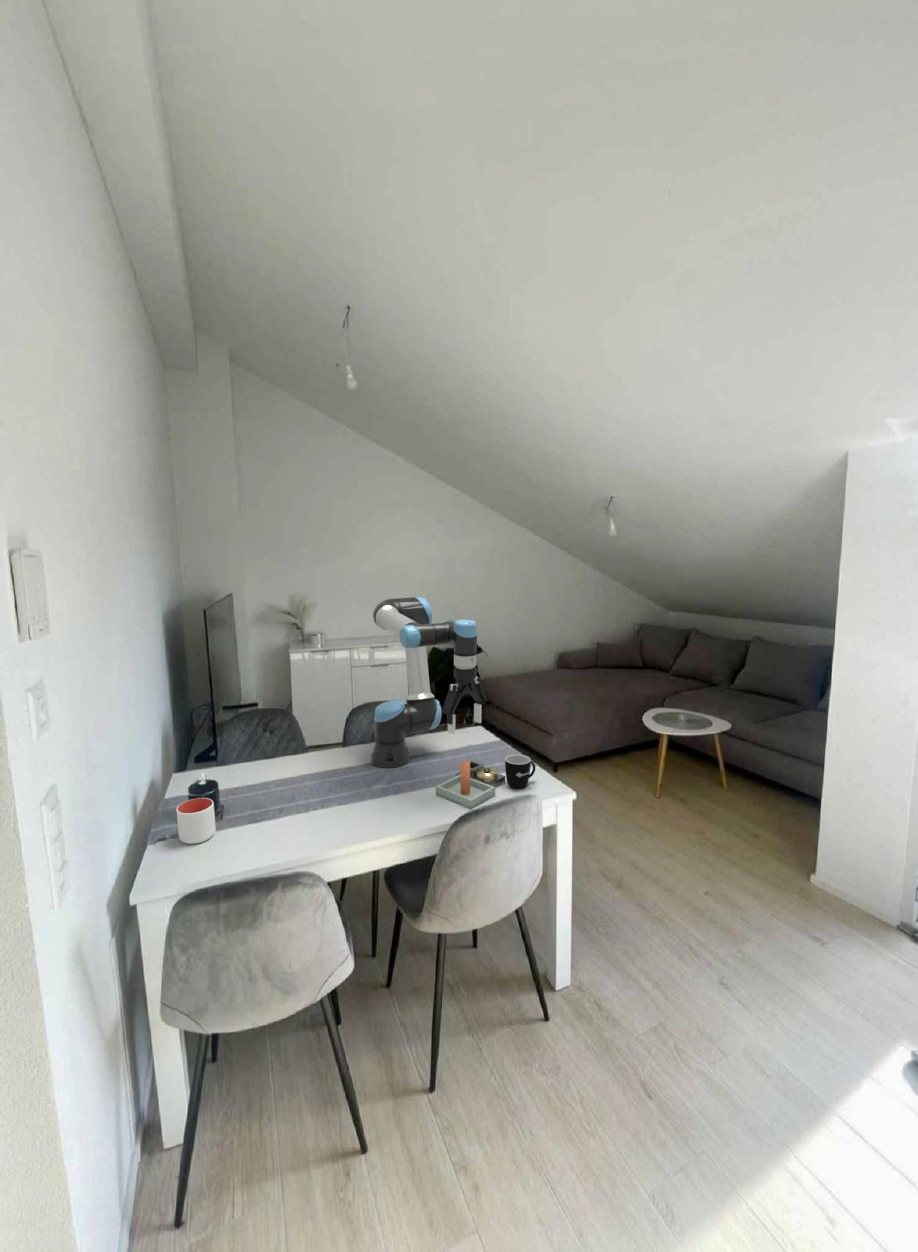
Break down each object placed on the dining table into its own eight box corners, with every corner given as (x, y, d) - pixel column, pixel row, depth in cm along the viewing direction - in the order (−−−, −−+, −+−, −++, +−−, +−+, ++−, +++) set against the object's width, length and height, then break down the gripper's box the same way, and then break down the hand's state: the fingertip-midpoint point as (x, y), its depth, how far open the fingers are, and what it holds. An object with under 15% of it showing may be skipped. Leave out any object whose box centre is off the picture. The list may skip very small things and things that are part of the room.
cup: (187, 828, 171) (184, 798, 170) (220, 827, 172) (218, 797, 171) (173, 846, 162) (170, 814, 160) (209, 845, 162) (206, 813, 161)
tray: (435, 794, 193) (435, 786, 193) (460, 782, 203) (460, 774, 203) (471, 809, 183) (471, 800, 182) (495, 795, 193) (495, 787, 192)
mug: (513, 793, 194) (514, 766, 192) (500, 783, 202) (500, 757, 200) (542, 786, 199) (542, 759, 198) (527, 777, 207) (528, 751, 206)
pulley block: (505, 782, 203) (505, 768, 202) (488, 791, 195) (488, 777, 194) (473, 771, 212) (473, 757, 212) (456, 779, 205) (456, 765, 204)
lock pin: (458, 793, 193) (458, 763, 191) (464, 789, 195) (464, 760, 193) (465, 795, 191) (465, 765, 189) (471, 792, 193) (471, 762, 191)
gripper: (448, 676, 174) (448, 740, 178) (497, 661, 192) (496, 720, 196) (431, 671, 179) (431, 734, 183) (480, 658, 197) (479, 715, 201)
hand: (464, 727), depth 189 cm, fingers open, 13 cm apart
